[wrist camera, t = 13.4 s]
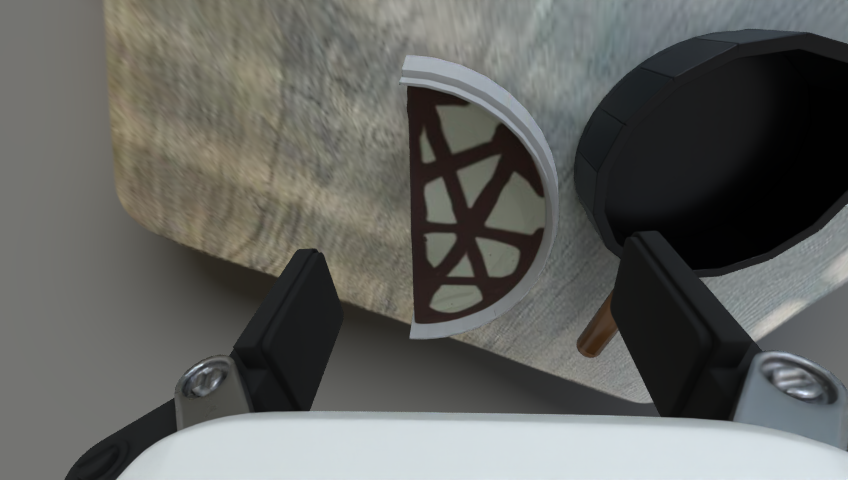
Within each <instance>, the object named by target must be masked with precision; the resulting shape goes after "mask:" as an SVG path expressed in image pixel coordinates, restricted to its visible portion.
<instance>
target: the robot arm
mask: <svg viewBox="0 0 848 480" xmlns="http://www.w3.org/2000/svg"><path fill="white" fill-rule="evenodd" d="M610 311H611V315H612V317H613V319H614V321H615V323H616V325H617V327H618V330H619V332H620V334H621V336H622V338H623V340H624V342H625V344H626V346H627V348H628V350H629V352H630V354H631V356H632V359H633V361H634V363H635V365H636V367H637V369H638V371H639V373H640V375H641V377H642V379H643V381H644V383H645V386H646V388H647V390H648V392H649V394H650V396H651V398H652V400H653V402H654V404H655V406H656V408H657V410H658V412H659V414H660V416H661V417H642V416H608V415H607V416H606V415H557V414H556V415H555V414H506V413H505V414H503V413H441V412H439V413H438V412H354V411H353V412H352V411H349V412H348V411H310V409H311V406H312V403H313V400H314V398H315V395H316V392H317V389H318V387H319V384H320V382H321V379H322V376H323V374H324V371H325V368H326V365H327V363H328V360H329V357H330V354H331V352H332V349H333V346H334V343H335V341H336V338H337V336H338V333H339V330H340V327H341V325H342V322H343V310H342V307H341V304H340V301H339V298H338V295H337V292H336V289H335V286H334V283H333V280H332V277H331V275H330V272H329V269H328V266H327V263H326V260H325V257H324V255H323V253H319V252H318V250H317V249H315V248H314V249H299V250H297V251H296V252H295V254H294V255H293V257H292V258H291V260H290V261H289V263H288V264H287V266H286V267H285V269H284V270H283V272H282V273H281V275H280V276H279V278H278V279H277V281H276V283H275V284H274V286H273V287H272V289H271V290H270V292H269V293H268V295H267V296H266V298H265V299H264V301H263V302H262V304H261V305H260V307H259V308H258V310H257V311H256V313H255V315H254V316H253V317H252V319H251V321H250V322H249V324H248V325H247V327H246V328H245V330H244V331H243V333H242V334H241V336H240V337H239V339H238V340H237V342H236V343H235V345H234V346H233V348H234V349H233V351H232V352H231V354H230V355H229V356H227V355H215V356H211V357H208V358H206V359H203V360H201V361H200V362H198V363H196V364H195V365H193V366H192V367H191V368H190V369H189V370H187V371H186V372H185V373H184V375H183V376H182V377H181V378H180V379H179V381H178V383H177V385H176V387H175V393H174V398H173V399H172V400H170V401H168V402H167V403H165V404H163V405H161V406H160V407H158V408H156V409H155V410H153V411H151V412H149V413H148V414H146V415H144V416H143V417H141V418H139V419H138V420H136V421H134V422H132V423H131V424H129V425H127V426H126V427H124V428H123V429H121V430H119V431H117V432H116V433H114V434H112V435H110V436H109V437H107V438H105V439H104V440H102V441H100V442H99V443H97V444H96V445H95V446H93V447H92V448H90V449H89V450H88V451H87V452H86V453H85V454H84V455H82V457H80V458H79V459H78V461H77V462H76V463H75V464H74V465H73V467H72V468H71V469H70V471H69V473H68V474H67V476H66V478H65V480H848V390H847V389H846V387H845V386H844V385H843V383H842V382H841V381H840V380H839V379H838V378H837V377H836V376H835V375H833V374H832V373H831V372H830V371H829V370H827V369H825V368H824V367H822V366H820V365H819V364H818V363H816V362H814V361H812V360H809V359H807V358H805V357H803V356H800V355H797V354H793V353H790V352H784V351H778V350H769V351H762V350H761V349H760V348H759V347H758V345H757V344H756V343H755V342H754V341H753V340H752V338H751V337H750V336H749V335H748V334H747V333H746V332H745V330H744V329H743V328H742V327H741V326H740V325H739V323H738V322H737V321H736V320H735V319H734V318H733V316H732V315H731V314H730V313H729V312H728V311H727V310H726V308H725V307H724V306H723V305H722V304H721V303H720V301H719V300H718V299H717V298H716V297H715V296H714V294H713V293H712V292H711V291H710V290H709V289H708V288H707V286H706V285H705V284H704V283H703V282H702V281H701V280H700V279H699V278H698V277H697V275H696V274H695V273H694V272H693V271H692V270H691V268H690V267H689V266H688V265H687V264H686V263H685V262H684V260H683V259H682V258H681V257H680V256H679V255H678V253H677V252H676V251H675V250H674V249H673V248H672V246H671V245H670V244H669V243H668V242H667V241H666V240H665V238H664V237H663V236H662V235H661V234H660V233H659V232H658V231H641V232H634V233H633V234H632V236H631V237H627V238H626V240H625V243H624V247H623V251H622V256H621V260H620V264H619V269H618V273H617V277H616V281H615V286H614V290H613V294H612V299H611V303H610Z"/></svg>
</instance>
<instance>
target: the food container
mask: <svg viewBox="0 0 848 480" xmlns="http://www.w3.org/2000/svg"><path fill="white" fill-rule="evenodd" d="M399 85H407V86H408V87H407V97H408V100H407V113H408V119H409V149H410V187H411V239H412V260H413V296H414V309H413V317H412V324H411V332H410V339H432V338H442V337H448V336H453V335H457V334H462V333H465V332H468V331H471V330H474V329H476V328H479V327H482V326H484V325H486V324H488V323H490V322H492V321H493V320H495V319H497V318H499V317H500V316H502V315H503V314H505V313H506V312H507V311H509V310H510V309H512V308H513V307H514V306H515V305H516V304H517V303H518V302H519V301H520V300H522V299H523V298H524V297H525V296H526V295H527V293H528V292H529V291H530V290H531V288H532V287H533V286H534V284H535V283H536V282H537V280H538V279H539V277H540V275H541V273H542V271H543V269H544V268H545V266H546V264H547V261H548V259H549V257H550V254H551V251H552V248H553V245H554V242H555V239H556V236H557V229H558V222H559V193H558V176H557V172H556V167H555V163H554V159H553V155H552V152H551V150H550V148H549V146H548V144H547V141H546V139H545V137H544V135H543V132H542V131H541V129H540V128H539V127H538V125H537V124H536V122H535V121H534V119H533V118H532V116H531V115H530V114H529V112H528V111H527V110H526V109H525V108H524V107H523V106H522V105H521V104H520V103H519V102H518V101H517V100H516V99H515V98H514V97H513V96H512V95H511V94H510V93H509V92H508V91H506V90H505V89H503V88H502V87H501V86H499V85H498V84H496V83H495V82H493V81H492V80H491V79H489V78H488V77H486V76H484V75H482V74H480V73H478V72H475V71H473V70H471V69H469V68H467V67H465V66H462V65H460V64H456V63H453V62H449V61H445V60H441V59H437V58H434V57H425V56H414V55H407V56H406V59H405V62H404V64H403V67H402V78H401V80H400V81H399Z"/></svg>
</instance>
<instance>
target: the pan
mask: <svg viewBox="0 0 848 480" xmlns="http://www.w3.org/2000/svg"><path fill="white" fill-rule="evenodd" d="M574 181H575V187H576V192H577V195H578V197H579V200H580V202H581V204H582V206H583V208H584V210H585V212H586V215H587V217H588V219H589V221H590V222H591V224H592V225H593V227H594V229H595V230H596V232H597V233H598V235H599V237H600V238H601V240H602V241H603V243H604V245H605V246H606V247H607V249H609V250H610V251H611V252H612V253H614V254H615V255H616V256H618V257H619V258H620V259H621V256H622V251H623V247H624V243H625V240H626V238H627V237H631V236H632V234H633V233H634V232H641V231H658V232H659V233H660V234H661V235H662V236H663V237H664V238H665V240H666V241H667V242H668V243H669V244H670V245H671V246H672V248H673V249H674V250H675V251H676V252H677V253H678V255H679V256H680V257H681V258H682V259H683V260H684V262H685V263H686V264H687V265H688V266H689V267H690V268H691V270H692V271H693V272H694V273H695V274H696V275H697V277H698V278H701V277H716V276H720V275H721V276H722V275H725V274H728V273H731V272H734V271H738V270H741V269H744V268H747V267H750V266H753V265H756V264H759V263H762V262H765V261H768V260H770V259H773V258H774V257H776V256H778V255H779V254H781V253H783V252H784V251H786V250H788V249H789V248H791V247H793V246H795V245H796V244H798V243H800V242H801V241H803V240H805V239H806V238H808V237H810V236H811V235H813V234H815V233H816V232H818V231H819V230H820V229H822V228H823V227H824V226H825V225H826V224H827V223H828V222H829V221H830V220H831V219H832V218H833V217H834V216H835V215H836V214H837V213H838V212H839V211H840V210H841V209H842V208H843V207H844V206H845V205H847V204H848V44H847V43H843V42H840V41H837V40H833V39H830V38H826V37H823V36H820V35H816V34H813V33H810V32H794V31H777V30H760V29H745V30H739V31H726V32H716V33H710V34H706V35H702V36H697V37H694V38H691V39H688V40H685V41H682V42H680V43H677V44H675V45H673V46H671V47H669V48H666V49H664V50H662V51H660V52H658V53H657V54H655V55H654V56H652V57H650V58H649V59H647V60H645V61H644V62H642V63H641V64H640V65H638V66H637V67H636V68H634V69H633V70H632V71H631V72H629V73H628V74H627V75H626V76H625V77H624V78H623V79H621V80H620V81H619V82H618V83H617V84H616V85H615V86H614V87H613V88H612V89H611V91H610V92H609V93H608V94H607V95H606V96H605V97H604V98H603V100H602V101H601V103H600V104H599V105H598V107H597V108H596V110H595V111H594V112H593V114H592V116H591V118H590V119H589V121H588V123H587V125H586V127H585V129H584V131H583V134H582V136H581V138H580V141H579V145H578V148H577V152H576V157H575V164H574ZM613 290H614V289H613ZM613 290H612V291H611V293H610V294H609V296H608V297H607V298H606V300H605V301H604V303H603V304H602V305H601V307H600V308H599V310H598V311H597V313H596V314H595V315H594V317H593V318H592V320H591V321H590V322H589V324H588V325H587V327H586V328H585V329H584V331H583V332H582V334H581V335H580V336H579V338H578V340H577V349H578V351H579V352H580V353H581V354H582V355H583V356H585V357H588V358H594V357H597V356H598V355H599V354H600V353H601V352H602V351H603V349H604V348H605V347H606V346H607V344H608V343H609V342H610V341H611V339H612V338H613V337H614V336H615V334H616V333H617V332H618V331H619V330H618V327H617V325H616V323H615V321H614V319H613V317H612V315H611V311H610V303H611V299H612V294H613Z"/></svg>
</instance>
